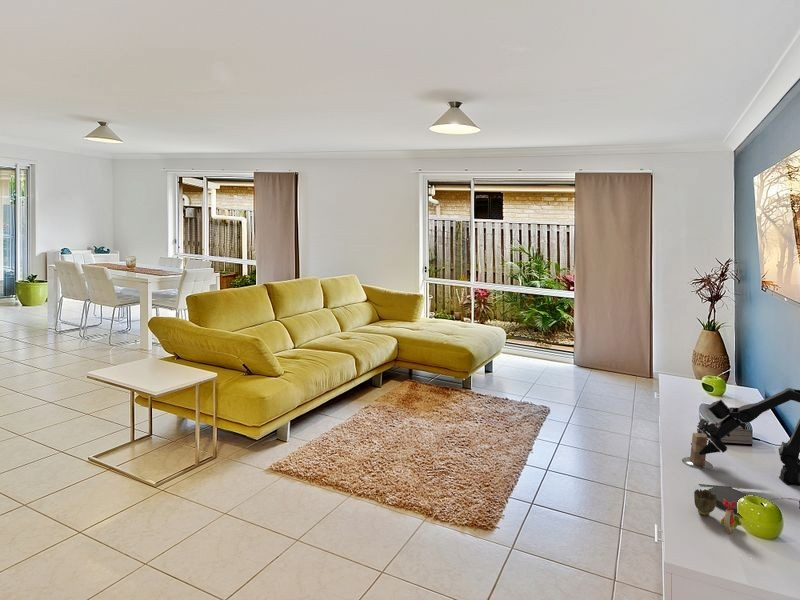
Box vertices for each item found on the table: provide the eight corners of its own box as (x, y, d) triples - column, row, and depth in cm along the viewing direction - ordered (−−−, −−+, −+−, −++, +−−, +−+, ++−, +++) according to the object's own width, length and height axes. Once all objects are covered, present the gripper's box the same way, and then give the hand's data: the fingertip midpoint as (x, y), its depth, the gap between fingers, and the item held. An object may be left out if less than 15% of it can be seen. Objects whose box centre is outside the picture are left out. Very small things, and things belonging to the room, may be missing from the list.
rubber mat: (721, 477, 222) (721, 476, 222) (732, 489, 213) (732, 487, 213) (691, 474, 224) (691, 473, 224) (700, 486, 215) (700, 485, 214)
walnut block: (700, 461, 235) (703, 433, 233) (704, 465, 231) (707, 437, 229) (690, 460, 235) (692, 432, 234) (693, 465, 231) (696, 436, 229)
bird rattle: (738, 541, 181) (742, 521, 187) (740, 519, 176) (744, 499, 182) (717, 535, 185) (722, 515, 191) (718, 513, 180) (723, 493, 186)
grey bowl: (706, 460, 238) (707, 449, 237) (717, 472, 226) (718, 461, 226) (677, 458, 240) (678, 447, 239) (687, 470, 228) (688, 459, 227)
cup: (687, 510, 196) (689, 490, 195) (702, 507, 199) (704, 487, 198) (705, 521, 189) (707, 500, 188) (720, 517, 192) (722, 497, 191)
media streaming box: (699, 497, 206) (700, 490, 206) (724, 490, 212) (725, 483, 212) (736, 517, 193) (737, 509, 193) (762, 508, 199) (762, 501, 199)
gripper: (703, 406, 238) (675, 427, 241) (722, 421, 220) (690, 444, 223) (721, 424, 238) (692, 445, 241) (740, 441, 220) (709, 464, 223)
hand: (695, 449), depth 232 cm, fingers open, 9 cm apart
